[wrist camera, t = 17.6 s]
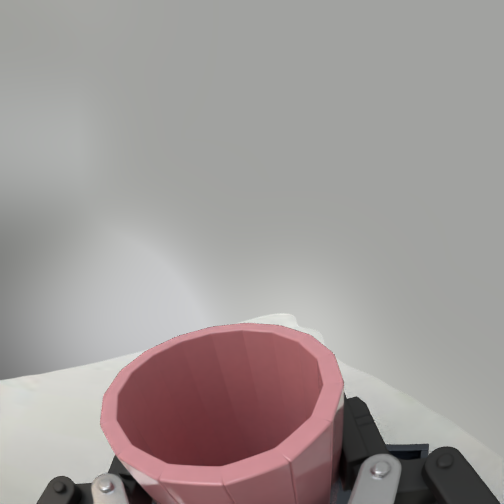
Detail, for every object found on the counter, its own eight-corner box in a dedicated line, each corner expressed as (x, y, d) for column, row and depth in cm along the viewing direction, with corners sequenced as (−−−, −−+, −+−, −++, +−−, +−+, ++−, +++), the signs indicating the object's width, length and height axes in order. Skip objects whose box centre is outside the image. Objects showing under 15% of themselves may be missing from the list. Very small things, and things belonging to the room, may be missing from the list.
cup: (305, 582, 5) (287, 528, 3) (179, 540, 8) (61, 414, 6) (347, 482, 11) (358, 326, 8) (237, 461, 14) (188, 316, 11)
